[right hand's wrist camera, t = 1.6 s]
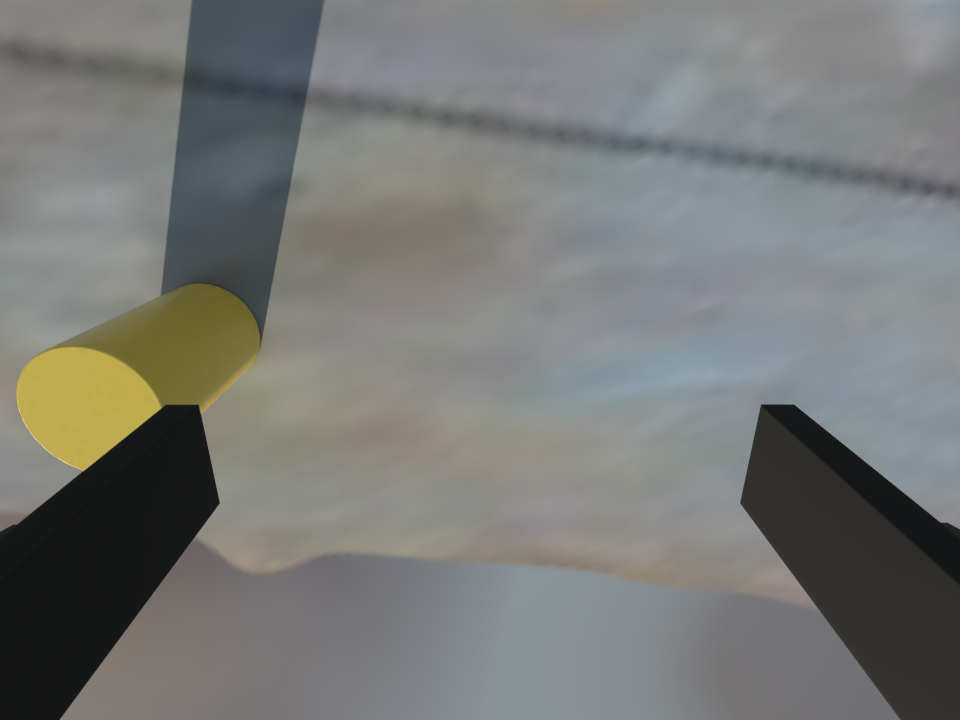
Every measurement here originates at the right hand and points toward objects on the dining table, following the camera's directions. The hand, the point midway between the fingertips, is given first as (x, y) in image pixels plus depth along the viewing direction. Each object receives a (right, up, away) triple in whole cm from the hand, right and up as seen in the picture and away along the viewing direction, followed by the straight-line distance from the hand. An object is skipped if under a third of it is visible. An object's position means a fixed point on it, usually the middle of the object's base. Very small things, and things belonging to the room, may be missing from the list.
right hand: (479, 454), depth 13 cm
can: (-17, +4, +20) cm, 26 cm away
